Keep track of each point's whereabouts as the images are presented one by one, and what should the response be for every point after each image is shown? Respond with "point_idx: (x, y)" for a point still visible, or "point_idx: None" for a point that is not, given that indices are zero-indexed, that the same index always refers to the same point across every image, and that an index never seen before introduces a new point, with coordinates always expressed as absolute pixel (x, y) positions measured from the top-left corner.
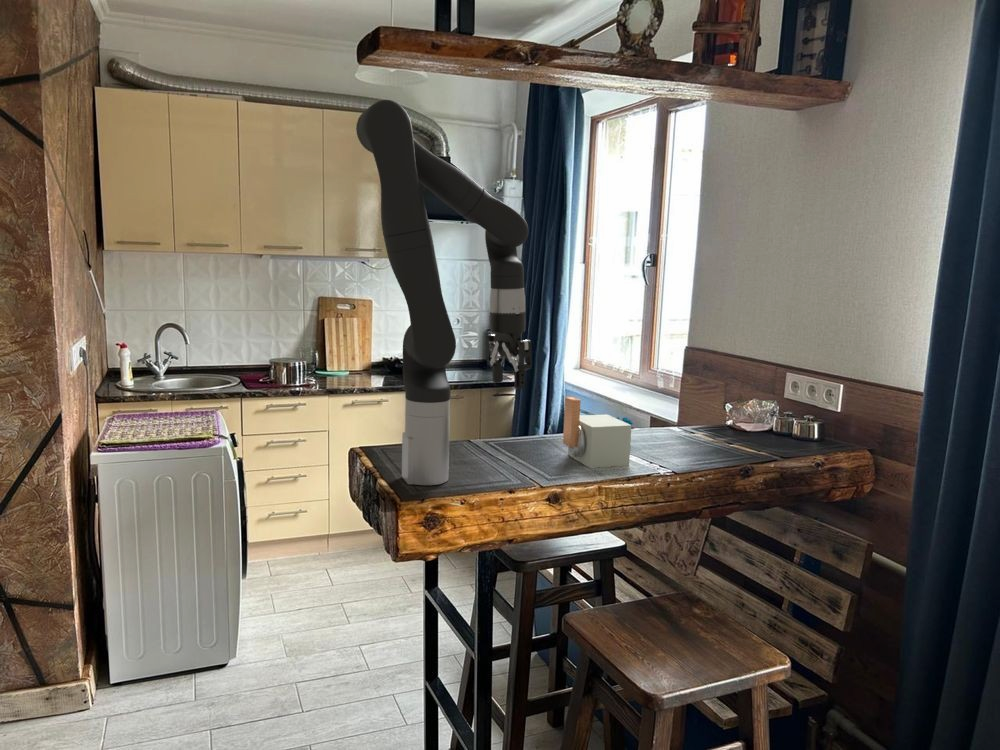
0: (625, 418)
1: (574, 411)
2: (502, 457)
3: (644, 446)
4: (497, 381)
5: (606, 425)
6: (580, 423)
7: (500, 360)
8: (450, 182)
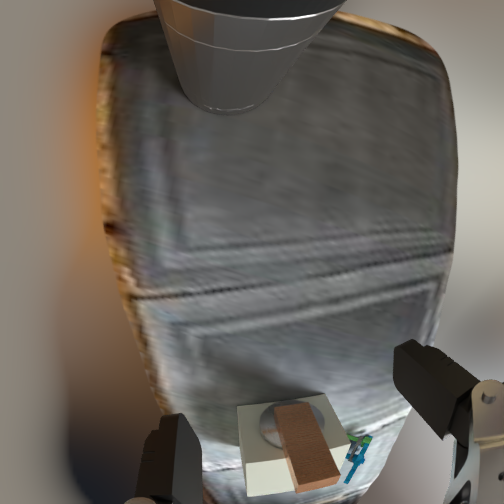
0: (346, 482)
1: (291, 467)
2: (349, 282)
3: None
4: (396, 361)
5: (254, 478)
6: None
7: (468, 448)
8: None
